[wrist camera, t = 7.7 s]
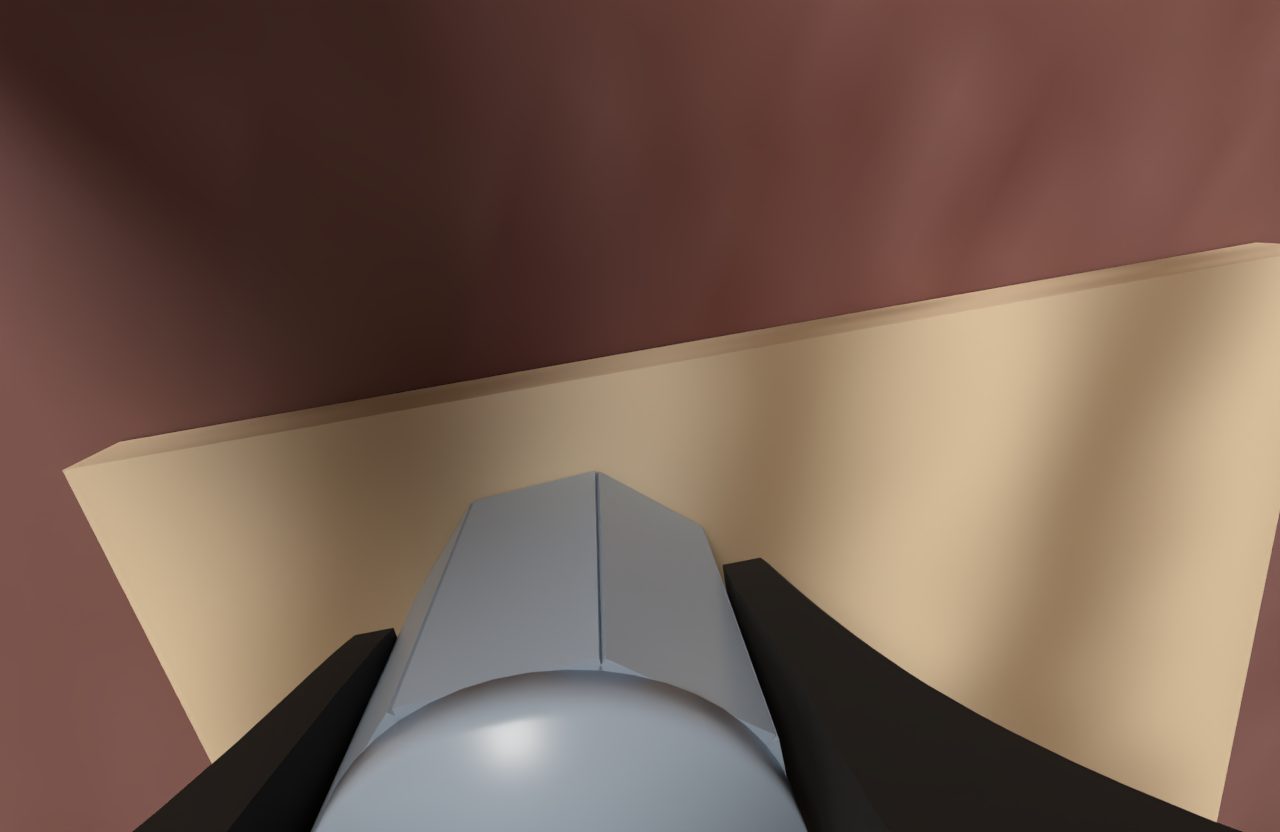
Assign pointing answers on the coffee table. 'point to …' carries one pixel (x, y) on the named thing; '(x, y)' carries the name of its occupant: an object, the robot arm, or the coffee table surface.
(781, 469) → the board
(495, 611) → the cap
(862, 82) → the coffee table surface
